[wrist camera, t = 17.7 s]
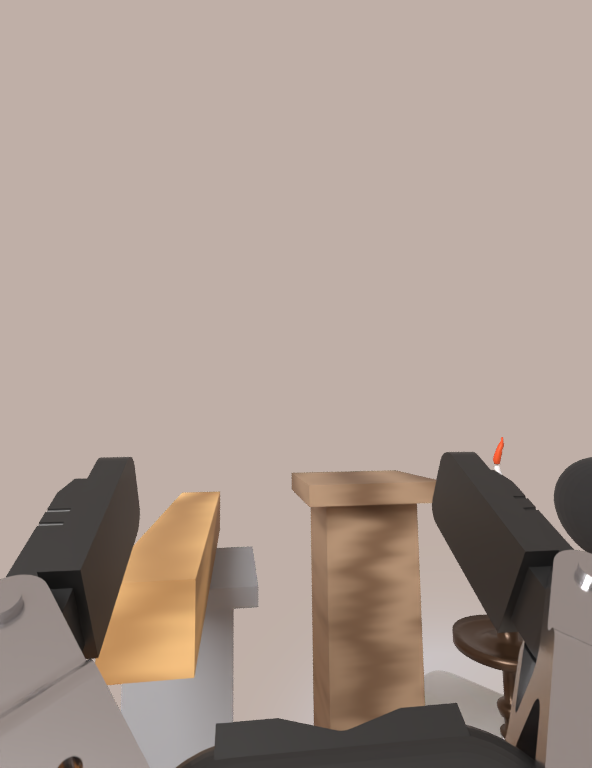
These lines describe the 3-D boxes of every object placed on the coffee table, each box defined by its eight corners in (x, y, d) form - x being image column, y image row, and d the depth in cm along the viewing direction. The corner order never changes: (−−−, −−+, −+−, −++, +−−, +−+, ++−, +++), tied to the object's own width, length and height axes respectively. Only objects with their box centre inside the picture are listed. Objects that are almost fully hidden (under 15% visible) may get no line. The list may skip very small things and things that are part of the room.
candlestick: (595, 789, 44) (567, 436, 48) (557, 860, 37) (528, 437, 41) (487, 735, 52) (471, 436, 56) (439, 785, 45) (424, 437, 49)
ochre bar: (219, 529, 36) (220, 491, 36) (194, 678, 14) (195, 579, 14) (181, 531, 35) (182, 492, 36) (94, 685, 14) (98, 584, 14)
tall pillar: (411, 834, 39) (398, 469, 43) (478, 986, 29) (453, 482, 32) (289, 851, 38) (285, 472, 41) (310, 1019, 27) (303, 486, 31)
